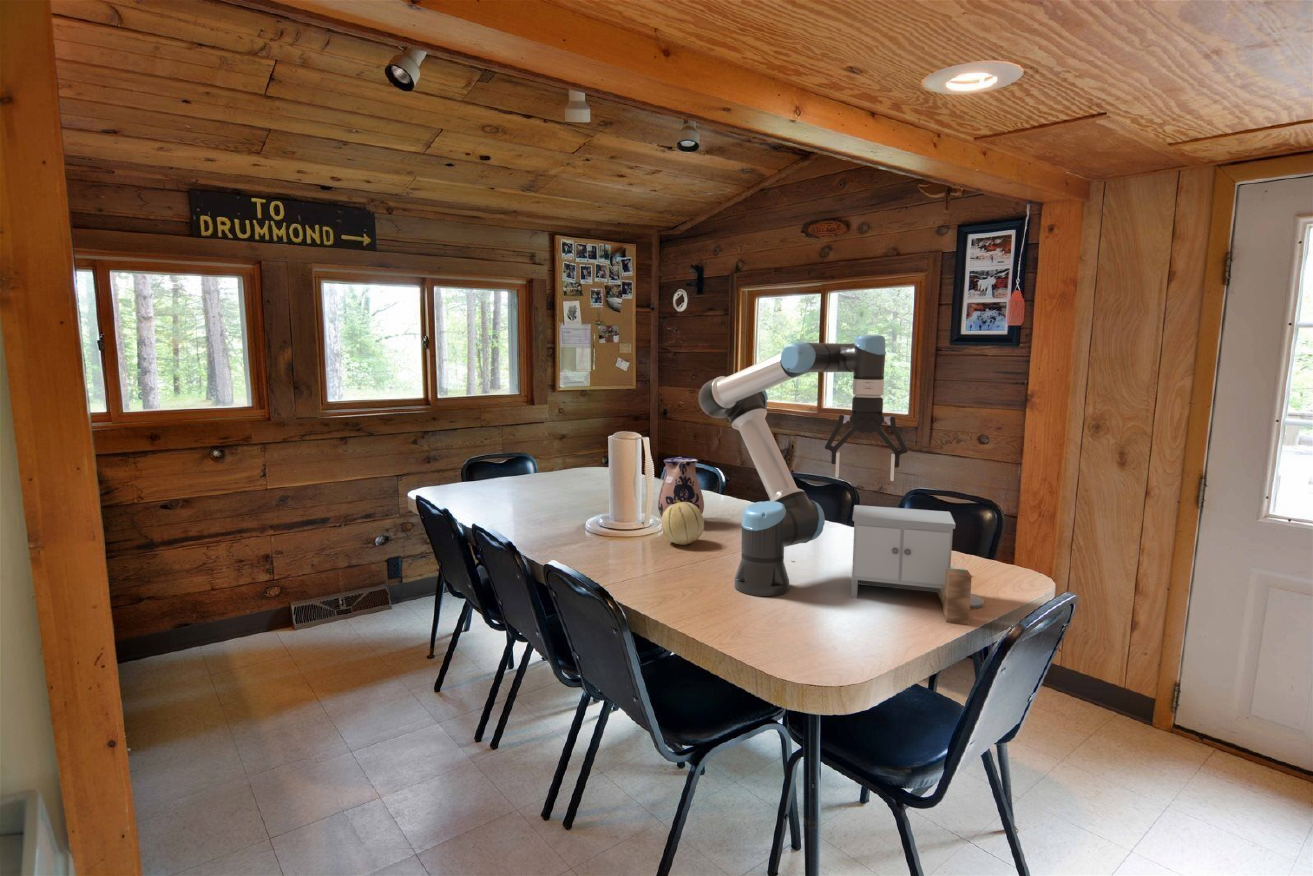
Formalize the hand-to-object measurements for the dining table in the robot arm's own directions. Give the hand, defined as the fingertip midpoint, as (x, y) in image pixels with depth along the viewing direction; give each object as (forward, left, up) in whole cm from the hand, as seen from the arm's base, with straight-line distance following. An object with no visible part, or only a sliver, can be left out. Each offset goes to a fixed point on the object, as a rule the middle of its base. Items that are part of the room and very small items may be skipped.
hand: (864, 478), depth 177 cm
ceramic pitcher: (-68, +66, -33) cm, 100 cm away
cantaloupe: (-59, +38, -33) cm, 78 cm away
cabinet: (+10, +9, -33) cm, 35 cm away
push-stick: (+23, +2, -33) cm, 40 cm away
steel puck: (+27, +7, -33) cm, 44 cm away
